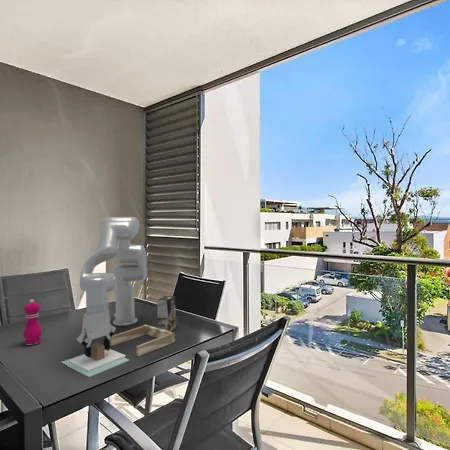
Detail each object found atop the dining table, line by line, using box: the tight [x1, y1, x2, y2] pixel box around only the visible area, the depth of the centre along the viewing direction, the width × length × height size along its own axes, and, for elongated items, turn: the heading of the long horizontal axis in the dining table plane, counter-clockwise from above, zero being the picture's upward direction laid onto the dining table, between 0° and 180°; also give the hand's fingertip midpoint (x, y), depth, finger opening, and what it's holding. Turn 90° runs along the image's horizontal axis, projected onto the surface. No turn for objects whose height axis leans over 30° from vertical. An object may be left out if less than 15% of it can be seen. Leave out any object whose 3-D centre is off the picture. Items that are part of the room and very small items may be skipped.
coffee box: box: [156, 295, 176, 332], centre depth 167 cm, size 9×6×16 cm
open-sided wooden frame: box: [110, 324, 176, 358], centre depth 149 cm, size 20×20×4 cm
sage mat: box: [60, 353, 130, 378], centre depth 131 cm, size 20×17×1 cm
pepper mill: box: [22, 299, 43, 345], centre depth 151 cm, size 7×7×20 cm
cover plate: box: [69, 342, 126, 372], centre depth 131 cm, size 14×16×6 cm
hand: (97, 352), depth 131 cm, fingers open, 7 cm apart
